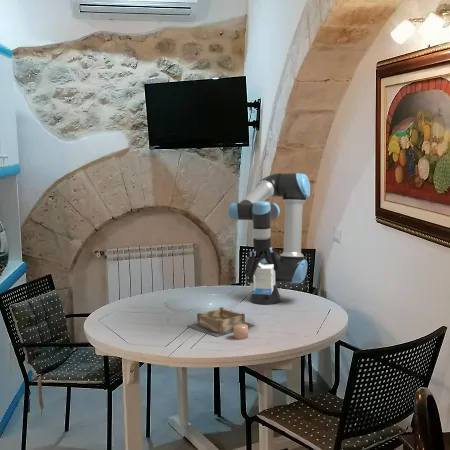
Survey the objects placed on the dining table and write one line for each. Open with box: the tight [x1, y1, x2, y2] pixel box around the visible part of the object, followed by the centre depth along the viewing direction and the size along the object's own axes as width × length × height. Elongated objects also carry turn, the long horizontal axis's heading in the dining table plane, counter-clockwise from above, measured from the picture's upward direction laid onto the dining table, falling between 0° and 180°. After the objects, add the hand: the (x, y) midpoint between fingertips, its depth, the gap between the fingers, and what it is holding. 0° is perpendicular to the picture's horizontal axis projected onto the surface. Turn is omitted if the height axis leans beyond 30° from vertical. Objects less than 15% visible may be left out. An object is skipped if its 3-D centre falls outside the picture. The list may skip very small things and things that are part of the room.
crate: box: [186, 307, 256, 338], centre depth 267 cm, size 22×20×6 cm
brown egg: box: [232, 324, 249, 340], centre depth 252 cm, size 6×6×5 cm
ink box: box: [251, 260, 274, 295], centre depth 262 cm, size 9×8×13 cm
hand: (262, 287), depth 262 cm, fingers closed on ink box, 11 cm apart
